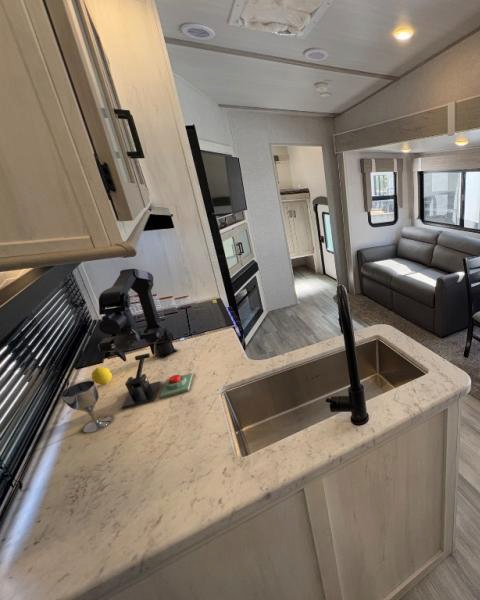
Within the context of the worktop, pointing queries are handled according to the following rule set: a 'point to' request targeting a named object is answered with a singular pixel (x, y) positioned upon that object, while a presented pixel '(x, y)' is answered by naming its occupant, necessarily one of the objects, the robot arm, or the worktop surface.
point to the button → (174, 379)
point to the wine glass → (85, 403)
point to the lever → (139, 369)
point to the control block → (176, 386)
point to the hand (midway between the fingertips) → (140, 357)
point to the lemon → (101, 375)
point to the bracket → (140, 392)
